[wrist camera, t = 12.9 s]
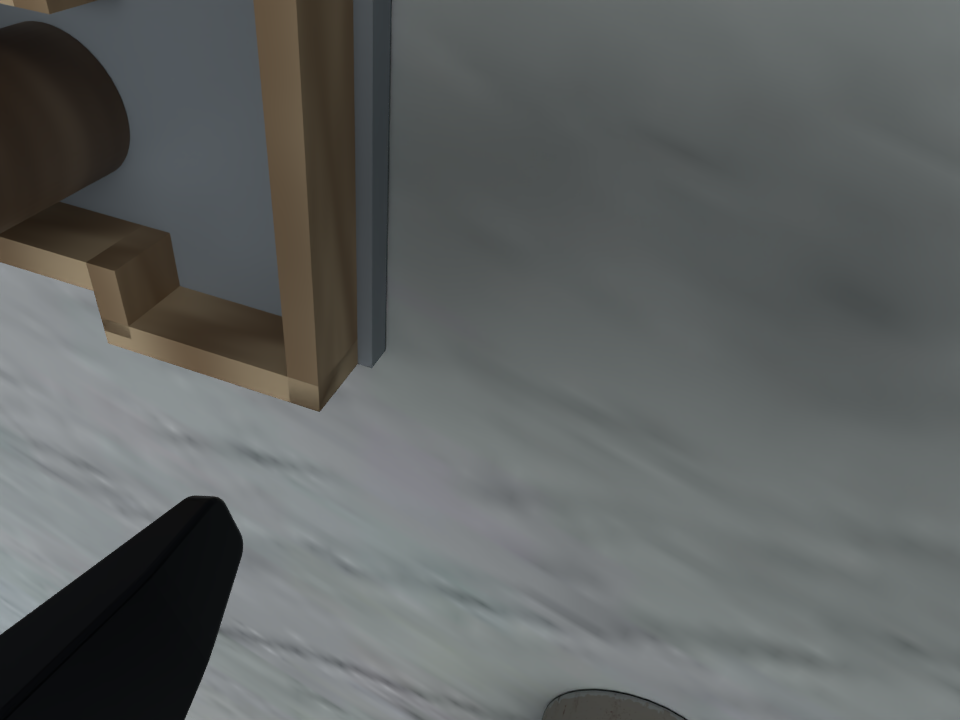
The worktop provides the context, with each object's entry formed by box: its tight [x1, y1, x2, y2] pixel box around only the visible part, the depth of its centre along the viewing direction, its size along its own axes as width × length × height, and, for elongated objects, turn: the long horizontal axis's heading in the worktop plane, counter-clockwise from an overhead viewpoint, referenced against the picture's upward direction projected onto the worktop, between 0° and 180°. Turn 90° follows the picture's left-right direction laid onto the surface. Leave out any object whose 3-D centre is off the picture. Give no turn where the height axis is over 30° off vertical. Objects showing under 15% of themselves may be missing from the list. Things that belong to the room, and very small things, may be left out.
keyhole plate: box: [0, 0, 391, 412], centre depth 21 cm, size 14×13×4 cm
